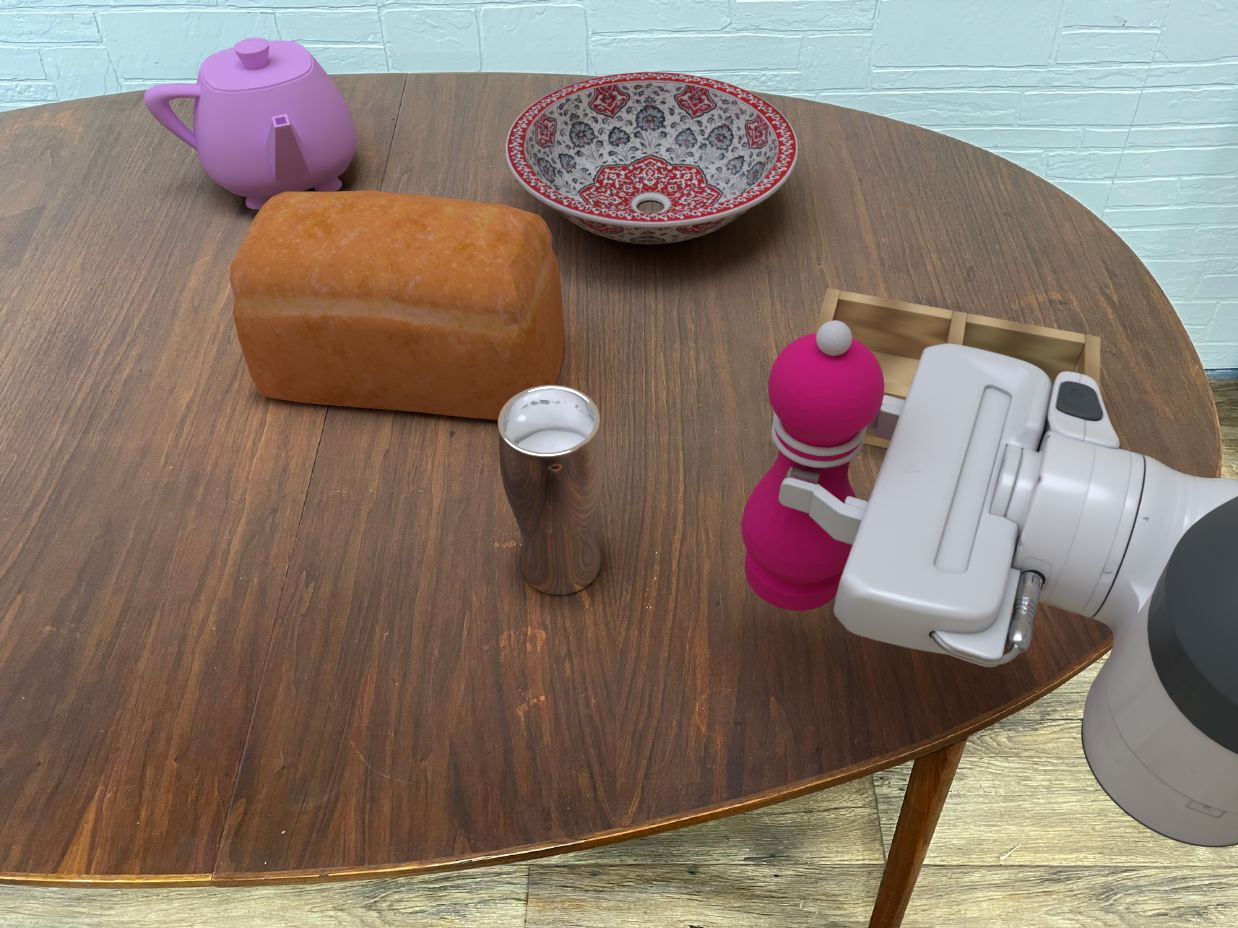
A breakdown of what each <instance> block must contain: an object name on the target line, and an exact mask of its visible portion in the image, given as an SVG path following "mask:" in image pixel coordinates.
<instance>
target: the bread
mask: <svg viewBox="0 0 1238 928" xmlns="http://www.w3.org/2000/svg"><path fill="white" fill-rule="evenodd" d="M229 283H230V286H231V291H232V294H233V296H234V298H233V311H232V314H233V319H234V325H235V329H236V335H237V338H238V342H239V346H240V349H241V351H242V354H243V358H244V361H245V363H246V366H247V370H248V372H249V376H250V378H251V380H252V382H253V383H254V385H255V388H256V389H257V391H258V393H259V394H260V395H262V396H264V397H266V398H267V399H268V398H270V399H276V400H282V401H289V402H290V401H291V402H297V403H303V404H314V405H327V406H338V407H349V408H359V409H361V408H362V409H375V410H388V411H389V410H390V411H401V412H415V413H424V414H433V415H439V416H440V415H442V416H448V417H449V416H450V417H456V418H457V417H458V418H468V419H469V418H470V419H480V420H490V421H491V420H492V421H498V417H499V414H500V411H501V409H502V408H503V406H504V405H505V404H506V403H507V402H508V401H509V400H510V399H511V398H512V397H513V396H515V395H516V394H518V393H520V392H522V391H524V390H527V389H529V388H533V387H537V386H543V385H557V383H558V379H559V377H560V373H561V368H562V365H563V361H564V348H565V347H564V346H565V322H564V310H563V309H564V307H563V296H562V284H561V275H560V267H559V260H558V257H557V255H556V254H555V252H554V250H553V234H552V232H551V230H550V228H549V226H548V224H547V222H546V220H544V218H542V216H541V215H539V214H537V213H533V212H530V211H527V210H523V209H520V208H517V207H514V206H510V205H507V204H501V203H492V202H484V201H478V200H477V201H476V200H466V199H459V198H451V197H450V198H449V197H441V196H432V195H422V194H408V193H397V192H388V191H379V190H372V189H371V190H343V191H339V190H338V191H335V192H317V191H300V192H282V193H280V194H278V195H276V196H273V197H271V198H270V199H269V200H268V201H267V202H266V203H265V204H264V205H263V206H262V208H261V209H259V211H258V212H257V214H255V216H254V218H253V219H252V221H251V223H250V225H249V228H248V230H247V232H246V234H245V236H244V238H243V240H242V242H241V244H240V246H239V248H238V250H237V251H236V254H235V256H234V258H233V260H232V261H231V263H230V269H229Z"/></svg>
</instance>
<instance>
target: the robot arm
mask: <svg viewBox="0 0 1238 928" xmlns="http://www.w3.org/2000/svg"><path fill="white" fill-rule="evenodd" d="M870 429H876V430H875V434H874V435H875V436H876V437H879V438H882V439H885V440H889V441H890V443H889V446H888V449H887V448H886V452H885V453H884V454H885V455H884V458H883V460H882V463H881V466H880V468H879V471H878V474H877V476H876V479H875V482H874V485H873V488H872V491H871V492H870V496H869V499H868V501H867V500H865V499H860V498H857V497H856V498H854V497H851V496H848V497H846V500H845V503H842V502H841V501H840V500H839V499H837V498H836V497H835V496H833V495H832V494H831V493H829V492H828V491H827V490H825V489H824V488H823V487H821V486H820V485H819V479H820V474H821V473H818V472H815V471H811V470H803V469H802V468H801V467H797V466H792V467H790V468H789V469H788V471H787V473H786V475H785V477H784V479H783V482H782V484H781V486H780V493H779V502H780V503H781V504H782V505H784V506H787V507H790V508H793V509H796V510H800V511H803V512H806V513H809V516H810V517H811V518H812V519H813V520H814V521H816V522H817V523H818V524H819V525H820V526H821V527H822V528H823V529H824V530H825V531H826V532H827V533H828V534H829V535H830V536H831V537H832V538H833V539H835V540H838V541H841V542H844V543H848V544H851V545H852V548H851V551H850V554H849V557H848V559H847V562H846V565H845V568H844V570H843V573H842V576H841V579H840V583H839V587H838V591H837V594H836V596H835V598H834V604H833V615H834V616H835V618H836V619H837V620H838V621H839V622H840V623H841V625H843V627H844V628H845V629H846V630H847V631H848V632H850V633H851V634H854V635H856V636H860V637H864V638H866V639H870V640H873V641H878V642H881V643H886V644H889V645H893V646H899V647H903V648H908V649H912V650H918V651H922V652H927V653H935V654H941V655H948V656H951V657H953V658H956V659H959V660H962V661H965V662H969V663H971V664H974V665H978V666H981V667H985V668H995V667H997V666H1001V665H1005V664H1007V663H1009V662H1011V661H1013V660H1015V658H1016V657H1017V656H1018V655H1019V654H1022V653H1023V654H1024V653H1026V652H1027V650H1028V649H1029V647H1030V644H1031V642H1032V639H1033V635H1034V626H1033V624H1034V623H1033V622H1034V618H1035V615H1036V613H1037V610H1038V607H1039V603H1041V604H1042V605H1046V606H1050V607H1053V608H1056V609H1059V610H1062V611H1066V612H1069V613H1073V614H1076V615H1078V616H1082V617H1085V618H1089V619H1092V620H1095V621H1098V622H1100V623H1103V624H1104V625H1106V626H1107V627H1108V628H1109V629H1110V631H1111V633H1112V646H1111V650H1110V653H1109V655H1108V657H1107V658H1106V660H1105V661H1104V663H1103V665H1102V666H1101V668H1100V670H1099V671H1098V672H1097V674H1096V676H1095V678H1094V679H1093V681H1092V683H1091V685H1090V688H1089V689H1088V692H1087V695H1086V698H1085V702H1084V707H1083V713H1082V719H1081V725H1080V726H1081V727H1080V739H1081V740H1080V741H1081V747H1082V750H1083V755H1084V758H1085V761H1086V763H1087V765H1088V768H1089V770H1090V772H1091V774H1092V775H1093V777H1094V779H1095V780H1096V782H1097V784H1098V785H1099V787H1100V788H1101V789H1102V790H1103V792H1104V793H1105V795H1106V796H1107V797H1108V798H1109V799H1110V800H1111V801H1112V802H1113V803H1114V804H1115V805H1116V807H1118V808H1119V809H1120V810H1122V811H1123V812H1124V813H1125V814H1126V815H1127V816H1128V817H1130V818H1131V819H1133V820H1134V821H1135V822H1136V823H1138V824H1140V825H1141V826H1143V827H1145V828H1146V829H1148V830H1150V831H1152V832H1154V833H1155V834H1158V835H1160V836H1162V837H1164V838H1167V839H1169V840H1172V841H1175V842H1178V843H1180V844H1181V843H1182V844H1185V845H1189V846H1194V847H1201V848H1209V849H1210V848H1215V849H1216V848H1217V849H1218V848H1229V847H1234V846H1238V479H1237V478H1230V477H1228V478H1227V477H1203V476H1197V475H1196V476H1195V475H1191V474H1187V473H1183V472H1181V471H1178V470H1176V469H1173V468H1171V467H1169V466H1168V465H1166V464H1164V463H1163V462H1161V461H1159V460H1157V459H1155V458H1153V457H1151V456H1149V455H1146V454H1141V453H1138V452H1134V451H1130V450H1127V449H1123V448H1120V446H1121V443H1120V439H1119V436H1118V435H1117V432H1116V431H1115V428H1114V426H1113V424H1112V422H1111V419H1110V416H1109V414H1108V412H1107V408H1106V405H1105V402H1104V399H1103V396H1102V393H1101V388H1100V389H1099V387H1098V384H1097V383H1096V381H1095V380H1094V379H1093V378H1091V377H1089V376H1087V375H1083V374H1080V373H1075V372H1068V371H1065V372H1061V373H1060V374H1058V376H1057V377H1056V379H1055V382H1054V384H1053V387H1052V384H1051V381H1050V379H1049V377H1048V376H1047V374H1046V373H1045V372H1044V371H1042V370H1041V369H1040V368H1038V367H1036V366H1034V365H1033V364H1030V363H1028V362H1025V361H1022V360H1019V359H1015V358H1012V357H1008V356H1005V355H1001V354H997V353H993V352H990V351H985V350H981V349H977V348H972V347H968V346H963V345H958V344H949V343H948V344H940V345H935V346H931V347H927V348H925V349H924V350H923V352H922V355H921V358H920V361H919V363H918V366H917V369H916V372H915V374H914V377H913V380H912V383H911V385H910V388H909V391H908V394H907V396H906V399H905V400H903V399H899V398H895V397H891V396H888V395H884V397H883V401H882V405H881V408H880V410H879V411H878V413H877V415H876V417H875V418H874V419H873V421H872V422H871V423H870V424H869V425H868V426H867V428H866V430H870ZM1005 646H1006V648H1007V649H1008V651H1006V652H1005V653H1004V651H1005Z"/></svg>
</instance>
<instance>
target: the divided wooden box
mask: <svg viewBox="0 0 1238 928" xmlns="http://www.w3.org/2000/svg"><path fill="white" fill-rule="evenodd" d="M833 320H837V321H841V322H843V323H845V324H846V325H847V326H848V327H849V328H850V330H851V333H852V338H854V339H856V340H858V341H860V342H861V343H863V344H864V345H865V346H866V347H868V348H869V350H870V351H871V352H872V353H873V354H874V355H875V357H876V358H877V360H878V362H879V364H880V366H881V369H882V372H883V377H884V395H888V396H891V397H895V398H899V399H903V400H905V399H906V396H907V394H908V391H909V388H910V385H911V383H912V380H913V377H914V374H915V372H916V369H917V366H918V363H919V361H920V358H921V355H922V352H923V350H924V349H925V348H927V347H931V346H935V345H940V344H948V343H949V344H958V345H963V346H968V347H972V348H977V349H981V350H985V351H990V352H993V353H997V354H1001V355H1005V356H1008V357H1012V358H1015V359H1019V360H1022V361H1025V362H1028V363H1030V364H1033V365H1034V366H1036V367H1038V368H1040V369H1041V370H1042V371H1044V372H1045V373H1046V374H1047V376H1048V377H1049V379H1050V381H1051V384H1052V387H1053V384H1054V382H1055V379H1056V377H1057V376H1058V374H1060V373H1061V372H1065V371H1068V372H1075V373H1080V374H1083V375H1087V376H1089V377H1091V378H1093V379H1094V380H1095V381H1096V383H1097V384H1098V387H1099V389H1100V390H1101V336H1097V335H1092V334H1085V333H1080V332H1075V331H1068V330H1063V329H1058V328H1052V327H1046V326H1042V325H1041V326H1040V325H1035V324H1030V323H1024V322H1019V321H1013V320H1008V319H1003V318H997V317H991V316H987V315H986V316H985V315H979V314H976V313H975V314H974V313H969V312H964V311H957V310H952V309H946V308H942V307H937V306H936V307H935V306H930V305H924V304H919V303H913V302H908V301H903V300H896V299H891V298H885V297H880V296H874V295H868V294H863V293H857V292H853V291H847V290H841V289H836V288H830V287H827V288H826V290H825V293H824V297H823V300H822V303H821V306H820V310H819V313H818V318H817V320H816V323H815V327H814V330H813V333H817V332H818V330H819V328H820V327H821V326H822V325H823V324H825V323H826V322H828V321H833ZM875 430H876V429H870V430H866V433H865V436H864V443H863V445H867V446H874V447H877V448H883V449H886V450H887V449H888V446H889V443H890V441H889V440H885V439H882V438H879V437H876V436H875V435H874V434H875Z"/></svg>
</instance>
